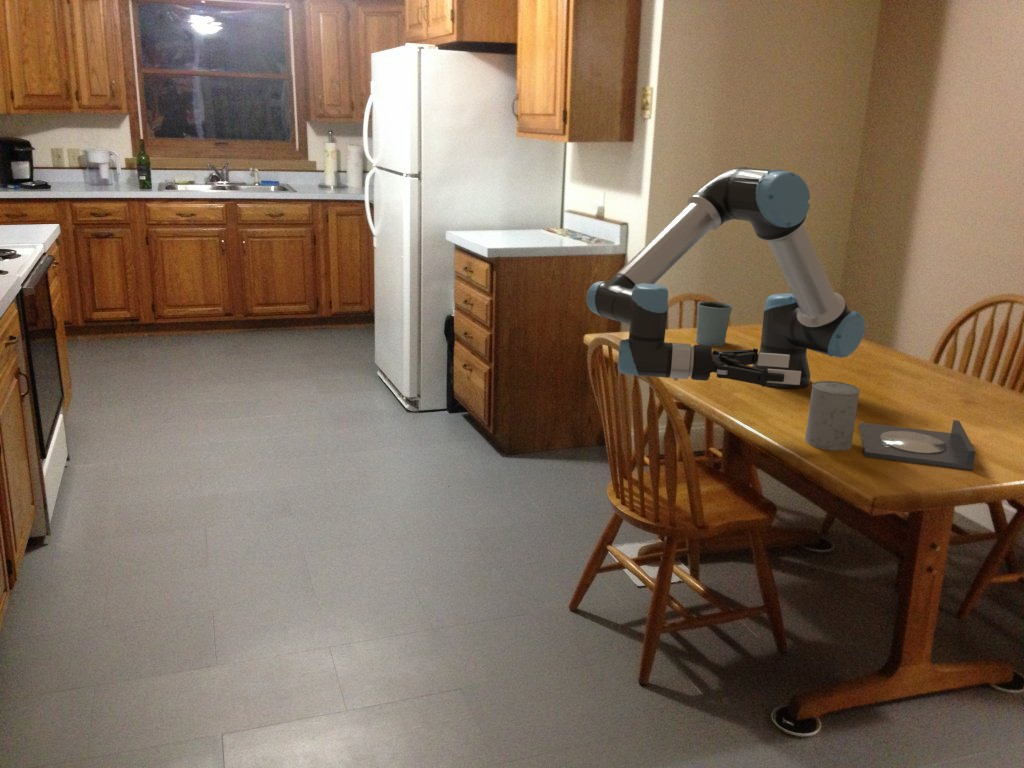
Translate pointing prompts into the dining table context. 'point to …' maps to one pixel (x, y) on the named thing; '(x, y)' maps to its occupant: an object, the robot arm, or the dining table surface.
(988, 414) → the dining table surface
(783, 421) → the dining table surface
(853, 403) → the speckled tin can
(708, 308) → the blue grey cup
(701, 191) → the robot arm
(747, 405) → the dining table surface
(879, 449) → the plate
